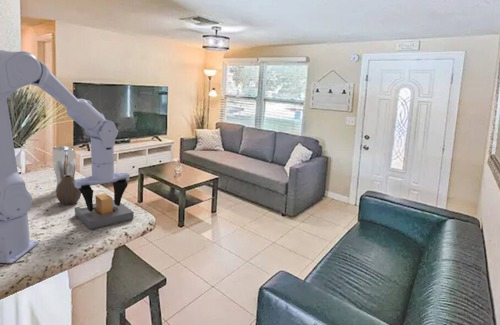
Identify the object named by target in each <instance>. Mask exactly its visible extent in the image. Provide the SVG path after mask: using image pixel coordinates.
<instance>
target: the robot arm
mask: <svg viewBox="0 0 500 325" xmlns="http://www.w3.org/2000/svg"><path fill="white" fill-rule="evenodd" d="M28 85H31V86H35V87H38V88H40V89H41V90H42V91H44V92H45V93H46V94H48V95H49V96H50V97H51V98H53V99H54V100H56V102H58V103H60V104H61V105H62V106H63V107H65V108H66V114H67V116H68V117H69V118H70V119H71V120H73V121H74V122H75V123H76V124H77V125H79V126H80V127H81V128H83V129H84V131H85V134H86V136H88V137H90V156H91V157H90V158H91V161H90V162H91V175H90V176H87V177H83V178H77V179H75V180H74V183H75V187H76V188H77V189H78V188H79V190H80V192H81V196H82V197H83V199H84V202H85V205H87V209H88V210H89V211H90V212H91V211H93V204H94V203H93V197H94V190H93V188H92V187H91V186H97V185H103V184H109V183H112V186H113V191H114V192H113V193H114V194H113V197H114V198H113V200H114V203H115V204H116V205H117V206H120V203H122V202H121V201H122V197H123V195H124V192H125V191H126V189H127V187H128V182H127V181H130V173H128V172H120V173H115V153H114V150H115V149H114V146H115V143H116V142H115V141H116V138H117V136H118V134H119V129H117V126H116V124H115V123H114V122H113V121H112V120H110V119H106V118H105V114H103V113H102V112H99V111H98V110H97V109H96V108H95V107H94V105H93V102H92V101H91V100H88V99H84V98H78V97H76V96H75V95H74V93H72V92H71V91H70V90H69V89H68V88H67V87H66V86H65V85H64V84H63V83H62V82H61V81H60V80H59V78H57V76H56V75H54V74H53V73H52V72H51V70H50V69H49V68H48V66H47V65H46V64H44V62H42V61H40V60H39V59H38V57H37V56H35V55H34V54H32V53H31V52H29V51H22V50H21V51H9V50H8V51H7V50H3V49H0V263H1V264H13V263H15V262H16V261H17V260H18V259H20V258H22V256H24V255H25V254H26V253H28V252H29V251H31V250H32V249H33V248H34V247H35V246H37V245H38V244H40V241H39V240H33V239H30V238H31V237H30V228H29V215H28V212H29V210H30V209H31V207H32V205H33V197H32V194H31V193H30V192H29V191H28V190H27V186H26V182H25V181H24V179H23V177H22V176H21V175H20V173H19V171H18V165H17V164H18V163H17V158H16V152H15V151H16V150H15V145H14V140H13V139H14V138H13V131H12V124H11V119H10V113H9V105H8V98H9V97H10V96H12V95H13V94H14V93H15V92H17V91H18V90H19V89H21V88H24V87H26V86H28Z"/></svg>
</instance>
